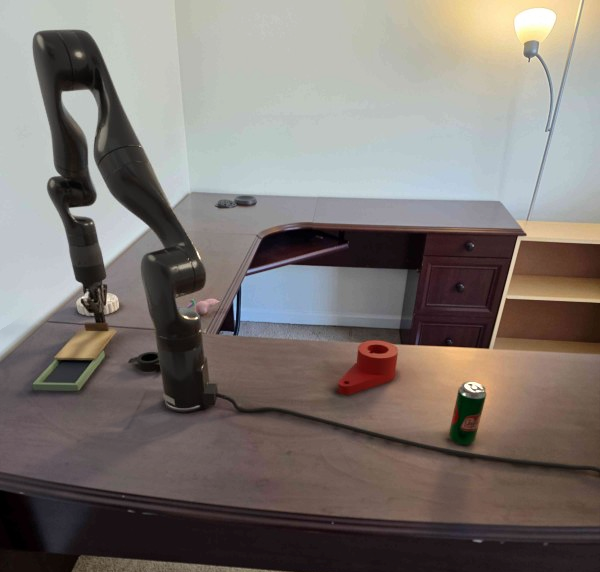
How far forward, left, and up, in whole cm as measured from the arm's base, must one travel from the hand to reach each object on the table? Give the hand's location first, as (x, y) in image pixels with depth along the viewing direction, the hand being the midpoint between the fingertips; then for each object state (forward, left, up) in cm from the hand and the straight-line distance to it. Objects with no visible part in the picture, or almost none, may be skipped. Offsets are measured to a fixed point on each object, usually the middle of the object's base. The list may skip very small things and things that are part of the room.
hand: (101, 324), depth 135 cm
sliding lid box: (0, +21, -4) cm, 21 cm away
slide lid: (0, +10, -1) cm, 10 cm away
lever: (-70, +22, -4) cm, 73 cm away
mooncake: (+8, -19, -4) cm, 21 cm away
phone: (0, +21, -3) cm, 21 cm away
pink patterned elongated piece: (-23, -16, -4) cm, 28 cm away
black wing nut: (-18, +18, -4) cm, 25 cm away
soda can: (-87, +45, -4) cm, 98 cm away
